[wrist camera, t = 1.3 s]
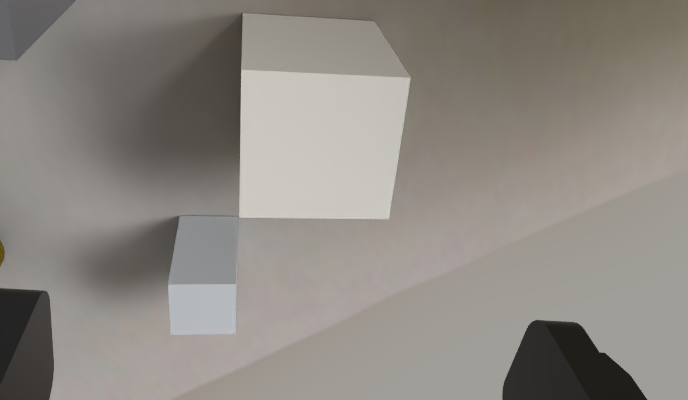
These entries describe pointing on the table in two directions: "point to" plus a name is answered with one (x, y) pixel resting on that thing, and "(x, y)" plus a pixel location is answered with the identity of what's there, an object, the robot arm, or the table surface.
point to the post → (26, 23)
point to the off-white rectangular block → (318, 118)
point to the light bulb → (1, 253)
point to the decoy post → (204, 276)
